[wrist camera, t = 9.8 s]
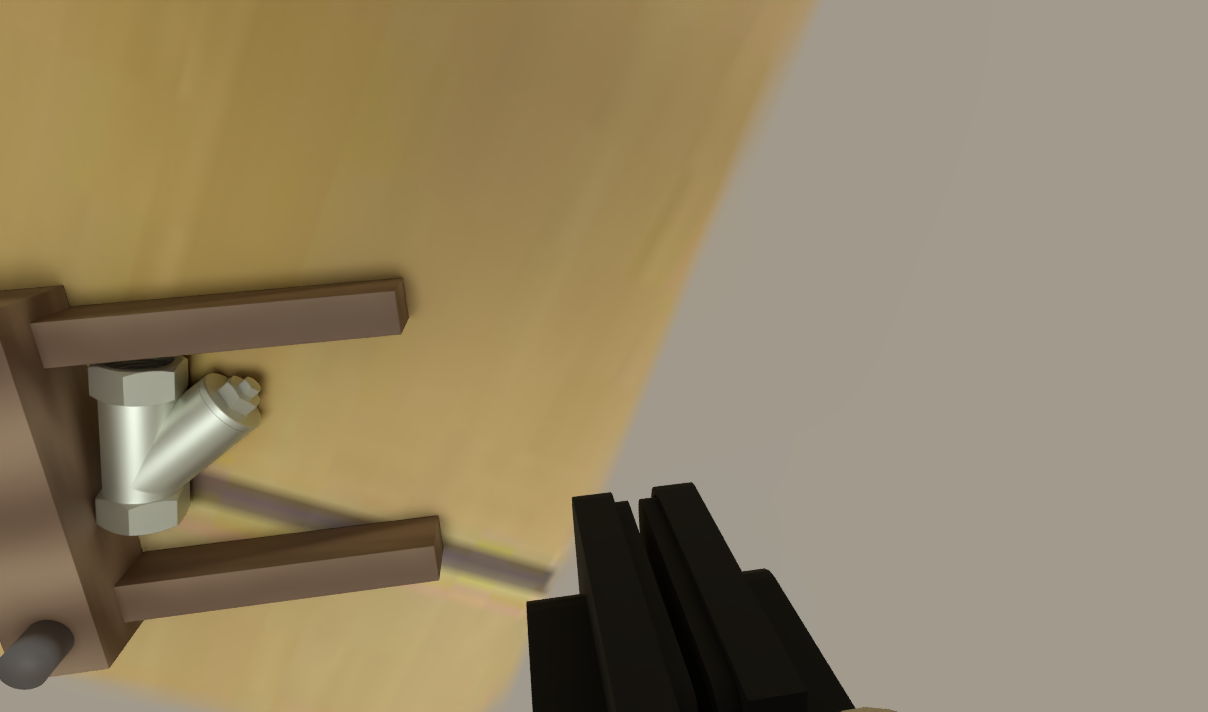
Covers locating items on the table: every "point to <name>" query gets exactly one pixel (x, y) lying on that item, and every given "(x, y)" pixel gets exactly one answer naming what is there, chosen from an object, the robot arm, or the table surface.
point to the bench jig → (73, 477)
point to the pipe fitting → (162, 437)
